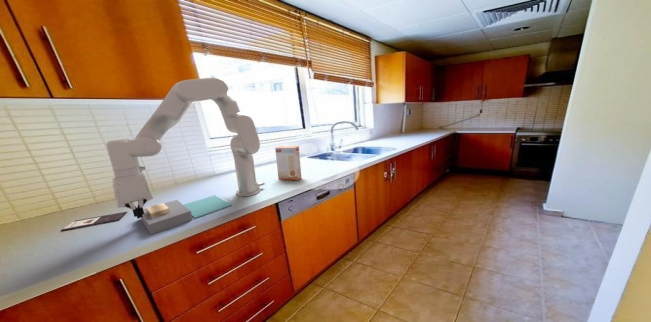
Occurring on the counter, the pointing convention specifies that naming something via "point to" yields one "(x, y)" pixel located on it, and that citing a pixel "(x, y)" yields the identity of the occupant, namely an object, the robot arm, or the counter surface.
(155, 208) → the tan rectangular block
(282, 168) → the cracker box
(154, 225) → the block
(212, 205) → the mat
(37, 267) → the counter surface
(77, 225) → the chocolate bar
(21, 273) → the counter surface
